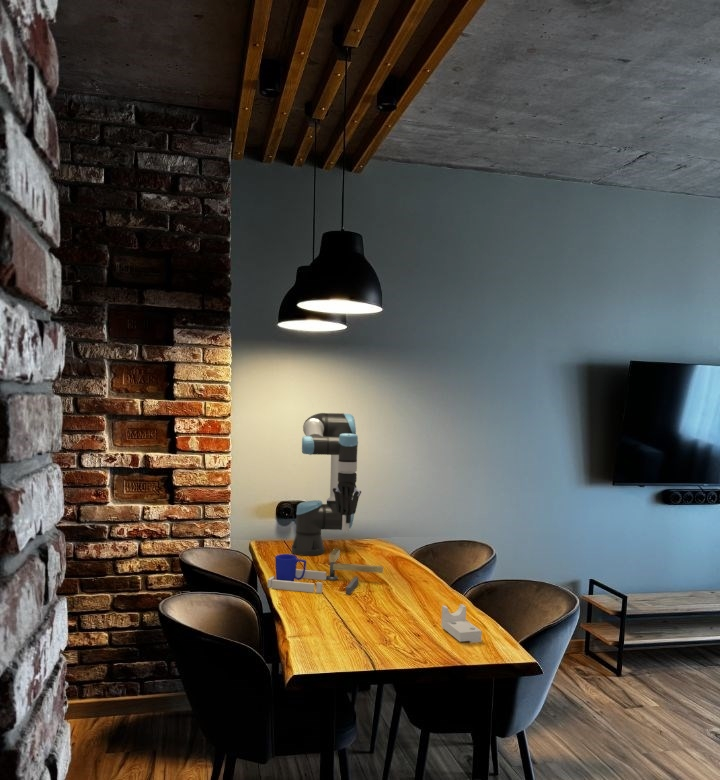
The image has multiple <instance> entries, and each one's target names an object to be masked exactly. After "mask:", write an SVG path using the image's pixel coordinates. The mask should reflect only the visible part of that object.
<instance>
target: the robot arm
mask: <svg viewBox="0 0 720 780" xmlns="http://www.w3.org/2000/svg"><path fill="white" fill-rule="evenodd" d="M302 431H303V434H304V436H303V437H302V439H301V452H302V454H304V455H309V456H311V455H314V456H315V455H321V456H322V455H324V456H325V455H328V456H330V481H329V483H330V484H329V485H330V486H329V487H330V488H329V492H330V493H329V497H328V498H327V499H326V503H323V501H322V500H319V499H318V500H315V499H314V500H313V499H312V500H306V501H302V502H299V503H298V504H297V506H296V513H295V515H296V521H295V524H296V525H295V536H294V540H293V542H292V545H291V553H292V554H293V555H296V556H297V555H298V556H318V555H323V554H324V553H325V546H324V545H325V544H324V542H323V537H322V530H325V531H327V530H328V531H330V530H331V531H335V530H336V531H339V530H340V531H341V532H343V533H345V532H349V531H350V529H352V526H353V523H354V518H355V514H356V512H357V508H358V503H359V502H358V501H359V498H360V496H361V495H362V490H359V489H358V488H357V485H356V483H357V480H358V479H357V473H356V472H357V471H358V470H357V469H358V445H359V440H358V439H359V438H358V435H357V427H356V422H355V417H354V416H353V414H350V413H344V412H343V413H342V412H341V413H339V412H338V413H333V412H329V413H326V412H320V413H315V414H313V415H311V416H309V417H307V419H305V421H304V423H303V425H302Z"/></svg>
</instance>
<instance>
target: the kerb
mask: <svg viewBox="0 0 720 780" xmlns="http://www.w3.org/2000/svg"><path fill="white" fill-rule="evenodd" d="M359 580H360V579H359V576H353V578H352V580H351V581H350V582H349V583H348V585H346V587H345V595H349V596H350V595H351V594H352V593H353V591H354V590H355V589H356V588H357V586H358V585H359Z"/></svg>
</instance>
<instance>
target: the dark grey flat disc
mask: <svg viewBox="0 0 720 780" xmlns="http://www.w3.org/2000/svg"><path fill="white" fill-rule="evenodd" d="M338 578H339V576H337V575H335V576H334V577H330V574H328V575H327V577H326V581H329V582H330V581H332V582H335V581H338Z"/></svg>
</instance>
